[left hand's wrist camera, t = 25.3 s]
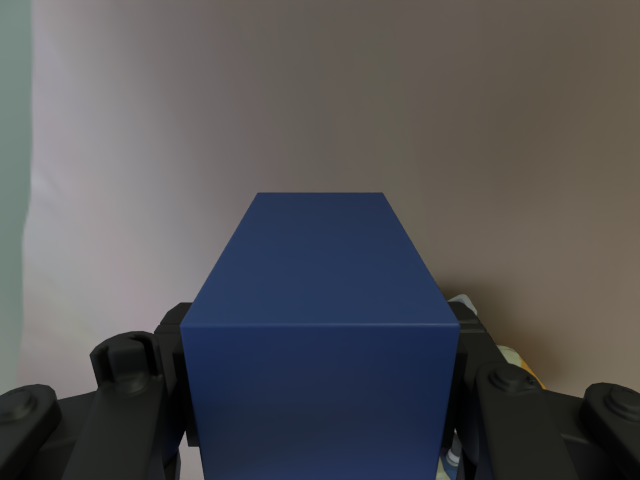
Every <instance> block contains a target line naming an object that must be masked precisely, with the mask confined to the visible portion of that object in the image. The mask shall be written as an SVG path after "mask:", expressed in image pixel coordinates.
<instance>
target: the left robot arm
mask: <svg viewBox="0 0 640 480" xmlns="http://www.w3.org/2000/svg"><path fill="white" fill-rule="evenodd" d="M447 303H448V305H449V306H450V308H451V310H452V311H453V313H454V315H455V316H456V318H457V320H458V322H459V323H460V332H459V339H458V345H457V351H456V357H455V363H454V370H453V376H452V382H451V388H450V394H449V401H448V407H447V413H446V419H445V426H444V432H443V438H442V444H441V447H452V444H453V438H454V432H455V430H456V432H457V435H458V437H459V440H460V442H461V445H462V448H461V453H460V458H459V463H458V469H457V474H456V480H640V393H638V392H636V391H634V390H632V389H629V388H627V387H623V386H620V385H617V384H611V383H603V382H602V383H596V384H592V385H590V386H589V387H588V388H587V389H586V391H585V394H584V397H583V398H579V397H574V396H570V395H565V394H561V393H556V392H552V391H549V390H546V389H543V388H542V386H541V384H540V383H539V381H538V380H537V378H536V377H534V376H533V375H532V374H531V373H529V372H528V371H527V370H525V369H523V368H521V367H519V366H517V365H515V364H511V363H508V361H507V360H506V359H505V357H504V356H503V354H502V353H501V351H500V350H499V348H498V347H497V345H496V344H495V342H494V341H493V339H492V338H491V336H490V335H489V334H488V333H487V332H486V329H485V328H484V326H483V325H482V324H480V320H479V319H478V317H477V316H476V314H475V313H474V312H473V310H471V309H470V308H468V307H467V306H466V305H464V304H463V303H461V302H460V301H447ZM191 305H192V303H179V304H178V305H177V306H175V307H174V308H172V309H171V310H170V311H168V312H167V313H166V315H165V316H164V318H163V319H162V321H161V322H160V325H158V327H157V328H156V330H155V331H154V334H152V333H148V332H145V331H131V332H127V333H122V334H118V335H116V336H113V337H111V338H109V339H106V340H105V341H103V342H102V343H101V344H99V345H98V346H96V347H95V348H94V350H93V351H92V352H91V353H90V359H91V362H92V366H93V370H94V373H95V377H96V381H97V384H98V389H97V391H93V392H90V393H87V394H82V395H78V396H73V397H69V398H64V399H60V400H58V399H57V396H56V393H55V391H54V390H53V389H52V388H51V387H50V386H47V385H41V384H35V385H27V386H23V387H19V388H17V389H13V390H10V391H8V392H6V393H4V394H3V395H1V396H0V480H179V478H180V468H181V459H180V453H179V448H178V447H179V445H180V442H181V440H182V437H183V435H184V432H185V431H186V436H187V442H188V447H199V443H198V436H197V430H196V424H195V418H194V411H193V405H192V399H191V392H190V386H189V380H188V374H187V367H186V361H185V355H184V349H183V342H182V336H181V330H180V324H181V322H182V320H183V319H184V317H185V315H186V314H187V312H188V310H189V309H190V307H191Z"/></svg>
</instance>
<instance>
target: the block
mask: <svg viewBox="0 0 640 480" xmlns="http://www.w3.org/2000/svg"><path fill="white" fill-rule="evenodd" d="M180 330H181V336H182V342H183V349H184V355H185V361H186V367H187V374H188V380H189V386H190V392H191V399H192V405H193V411H194V418H195V424H196V430H197V436H198V443H199V449H200V455H201V461H202V468H203V474H204V480H436V475H437V469H438V463H439V457H440V450H441V444H442V438H443V432H444V426H445V419H446V413H447V407H448V401H449V394H450V388H451V382H452V376H453V370H454V363H455V357H456V351H457V345H458V339H459V332H460V323H459V322H458V320H457V318H456V316H455V315H454V313H453V311H452V310H451V308H450V306H449V305H448V303H447V301H446V300H445V298H444V296H443V294H442V293H441V291H440V289H439V288H438V286H437V284H436V283H435V281H434V279H433V277H432V276H431V274H430V272H429V271H428V269H427V267H426V266H425V264H424V262H423V260H422V259H421V257H420V255H419V254H418V252H417V250H416V249H415V247H414V245H413V243H412V242H411V240H410V238H409V237H408V235H407V233H406V232H405V230H404V228H403V227H402V225H401V223H400V221H399V220H398V218H397V216H396V215H395V213H394V211H393V210H392V208H391V206H390V204H389V203H388V201H387V199H386V198H385V196H384V194H383V193H257V195H256V197H255V198H254V200H253V202H252V203H251V205H250V207H249V208H248V210H247V212H246V214H245V215H244V217H243V219H242V220H241V222H240V224H239V225H238V227H237V229H236V230H235V232H234V234H233V236H232V237H231V239H230V241H229V242H228V244H227V246H226V247H225V249H224V251H223V253H222V254H221V256H220V258H219V259H218V261H217V263H216V264H215V266H214V268H213V269H212V271H211V273H210V275H209V276H208V278H207V280H206V281H205V283H204V285H203V286H202V288H201V290H200V292H199V293H198V295H197V297H196V298H195V300H194V302H193V303H192V305H191V307H190V309H189V310H188V312H187V314H186V315H185V317H184V319H183V320H182V322H181V324H180Z"/></svg>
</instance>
